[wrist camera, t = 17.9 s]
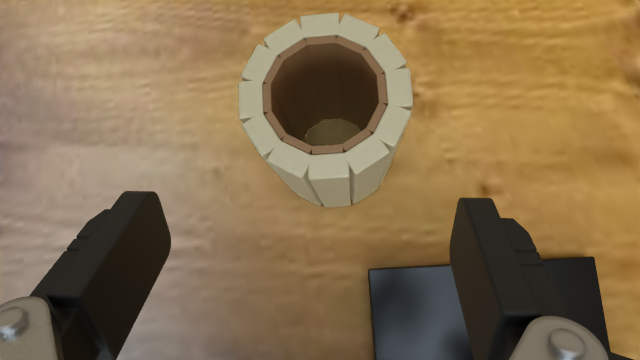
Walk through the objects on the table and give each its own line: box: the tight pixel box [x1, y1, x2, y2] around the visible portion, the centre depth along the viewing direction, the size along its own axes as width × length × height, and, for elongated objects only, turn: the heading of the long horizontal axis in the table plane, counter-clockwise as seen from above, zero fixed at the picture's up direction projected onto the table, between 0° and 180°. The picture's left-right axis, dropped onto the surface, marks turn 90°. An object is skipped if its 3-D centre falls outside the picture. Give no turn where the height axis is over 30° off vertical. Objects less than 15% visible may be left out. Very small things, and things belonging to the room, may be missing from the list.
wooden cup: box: [238, 13, 413, 208], centre depth 19 cm, size 6×6×8 cm
